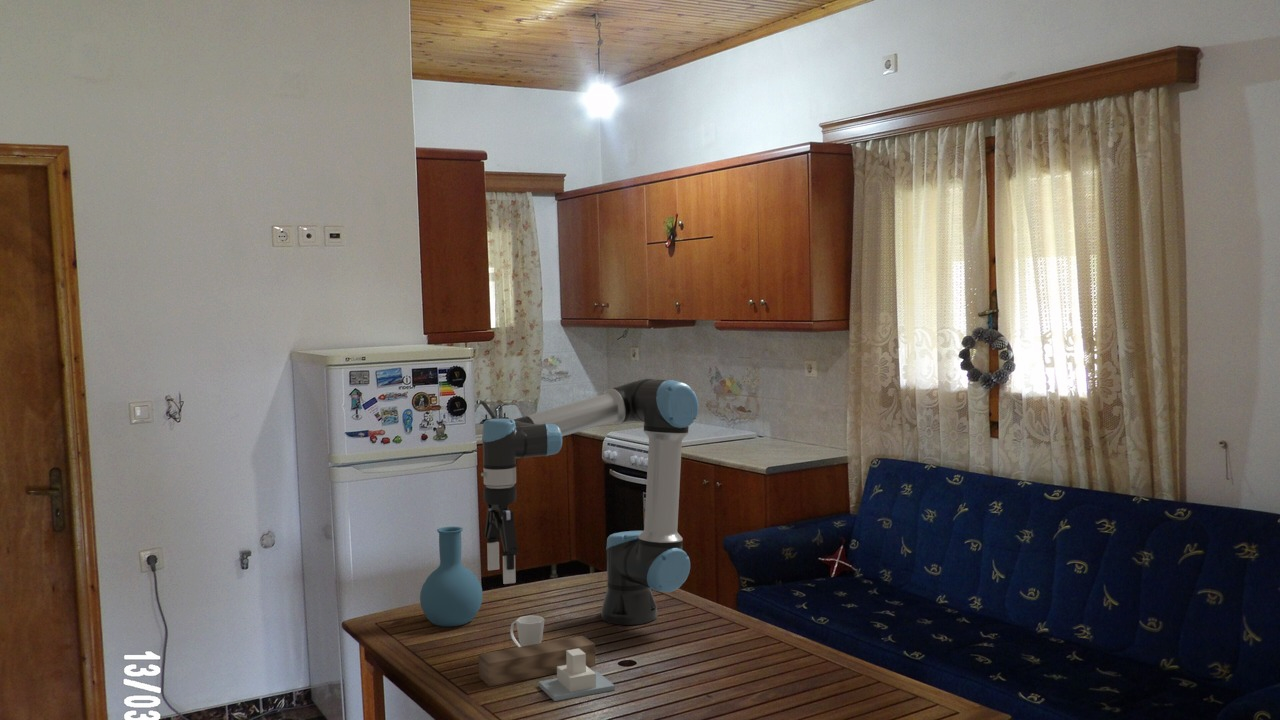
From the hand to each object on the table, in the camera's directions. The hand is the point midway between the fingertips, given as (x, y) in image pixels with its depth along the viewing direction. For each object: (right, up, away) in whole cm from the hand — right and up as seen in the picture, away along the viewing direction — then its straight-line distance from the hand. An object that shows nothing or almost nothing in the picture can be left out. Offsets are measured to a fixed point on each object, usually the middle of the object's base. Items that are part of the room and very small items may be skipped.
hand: (501, 576), depth 236 cm
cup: (+5, -21, +12) cm, 24 cm away
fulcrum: (+18, -22, -13) cm, 31 cm away
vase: (-18, -20, +37) cm, 46 cm away
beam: (+9, -22, -3) cm, 24 cm away
